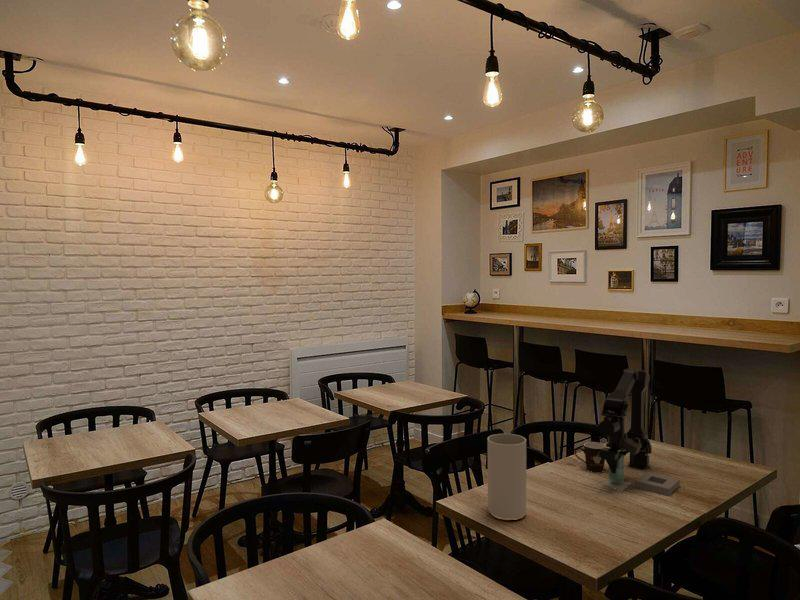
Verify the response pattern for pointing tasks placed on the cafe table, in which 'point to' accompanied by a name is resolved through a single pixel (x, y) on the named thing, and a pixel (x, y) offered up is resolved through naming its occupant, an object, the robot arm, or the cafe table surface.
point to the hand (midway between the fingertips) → (616, 471)
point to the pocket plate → (657, 483)
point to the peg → (618, 471)
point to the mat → (616, 484)
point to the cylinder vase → (507, 475)
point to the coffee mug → (593, 456)
